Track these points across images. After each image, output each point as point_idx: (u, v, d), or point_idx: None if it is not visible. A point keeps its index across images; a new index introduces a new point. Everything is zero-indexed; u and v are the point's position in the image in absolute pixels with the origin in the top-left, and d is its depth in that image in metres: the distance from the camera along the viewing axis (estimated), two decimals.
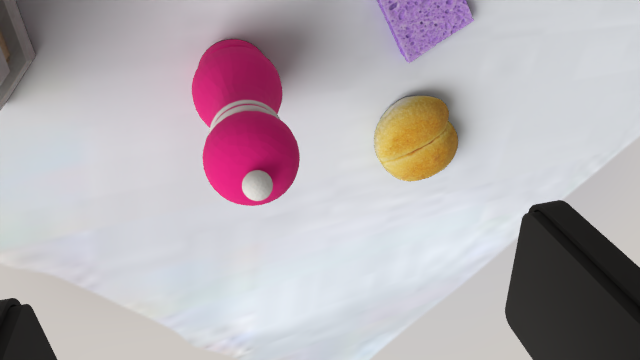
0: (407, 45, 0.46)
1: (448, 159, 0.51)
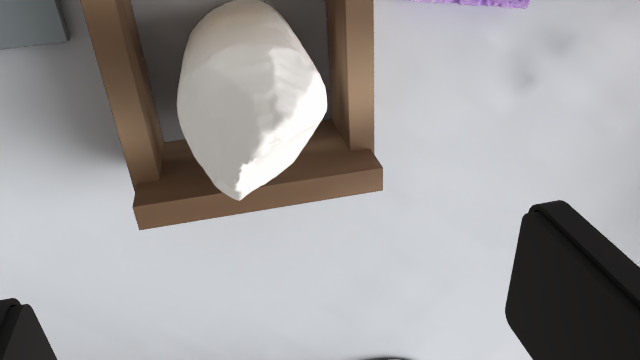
0: None
1: None
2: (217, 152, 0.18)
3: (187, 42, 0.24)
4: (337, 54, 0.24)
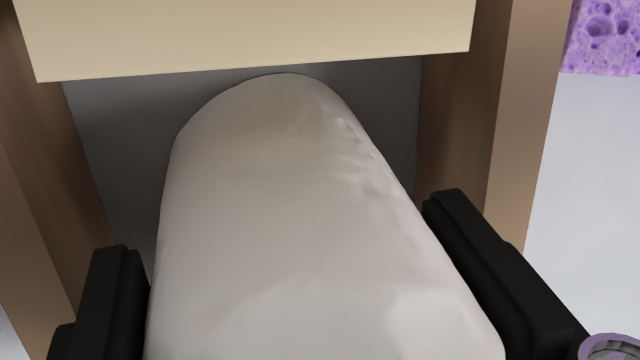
0: None
1: None
2: None
3: (171, 153, 0.13)
4: (448, 176, 0.13)
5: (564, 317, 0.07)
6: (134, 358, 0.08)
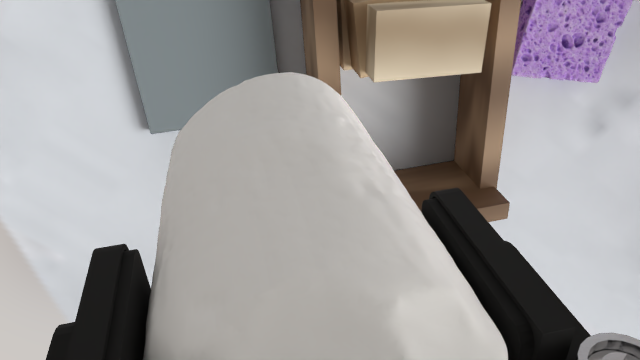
0: None
1: None
2: None
3: (172, 152, 0.13)
4: (472, 118, 0.33)
5: (564, 317, 0.07)
6: (134, 358, 0.08)
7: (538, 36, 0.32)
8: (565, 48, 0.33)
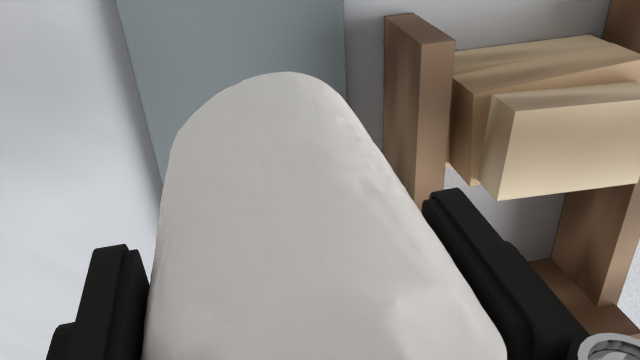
0: None
1: None
2: None
3: (171, 151, 0.13)
4: (591, 219, 0.26)
5: (564, 317, 0.07)
6: (134, 358, 0.08)
7: None
8: None
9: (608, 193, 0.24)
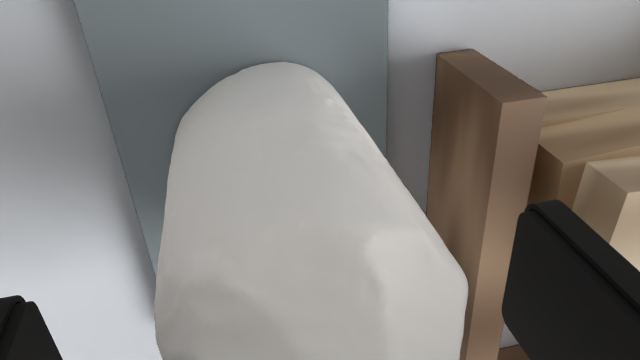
0: None
1: None
2: None
3: (176, 136, 0.14)
4: None
5: None
6: None
7: None
8: None
9: None
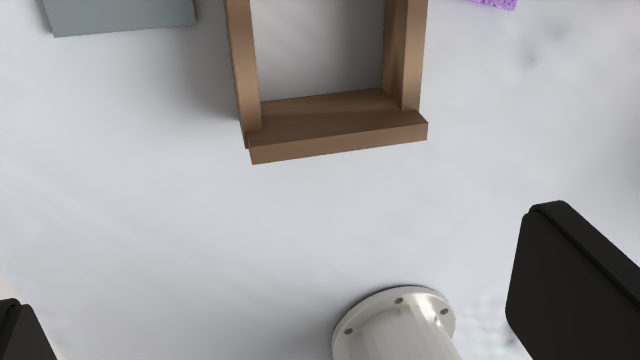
0: None
1: None
2: None
3: None
4: (394, 37, 0.32)
5: None
6: None
7: None
8: None
9: (399, 9, 0.31)
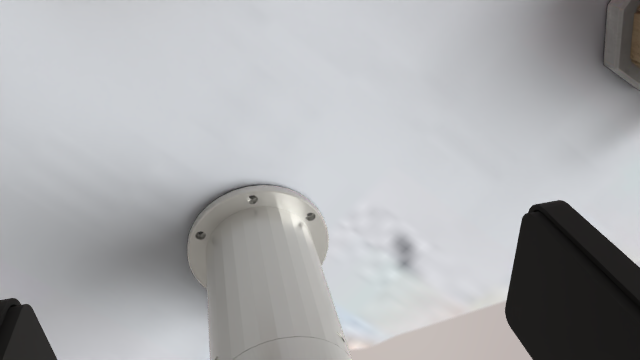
0: None
1: None
2: None
3: None
4: None
5: None
6: None
7: None
8: None
9: None
